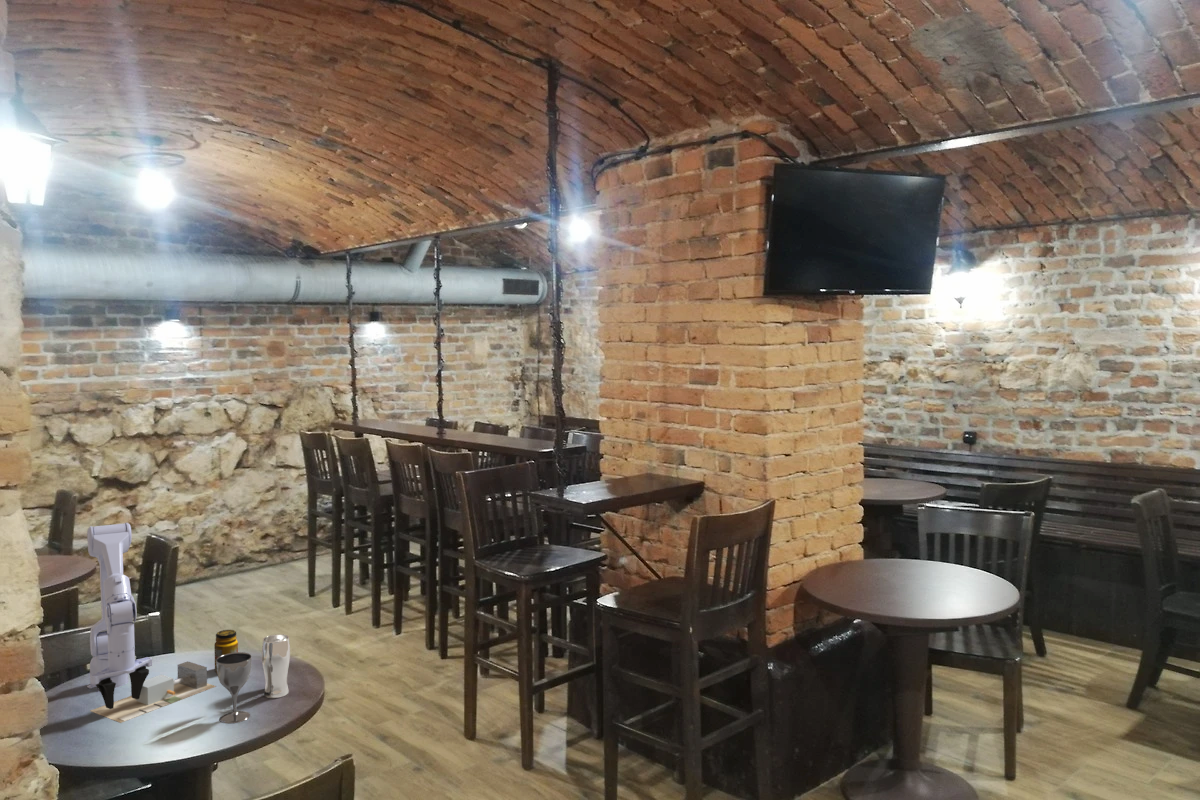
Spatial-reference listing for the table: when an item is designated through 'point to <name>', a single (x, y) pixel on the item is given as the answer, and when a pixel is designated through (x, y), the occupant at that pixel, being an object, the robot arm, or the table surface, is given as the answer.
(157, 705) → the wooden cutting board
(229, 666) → the wine glass
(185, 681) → the grey rectangular block
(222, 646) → the condiment
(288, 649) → the beer glass
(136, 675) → the robot arm
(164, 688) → the light grey block
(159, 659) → the table surface
